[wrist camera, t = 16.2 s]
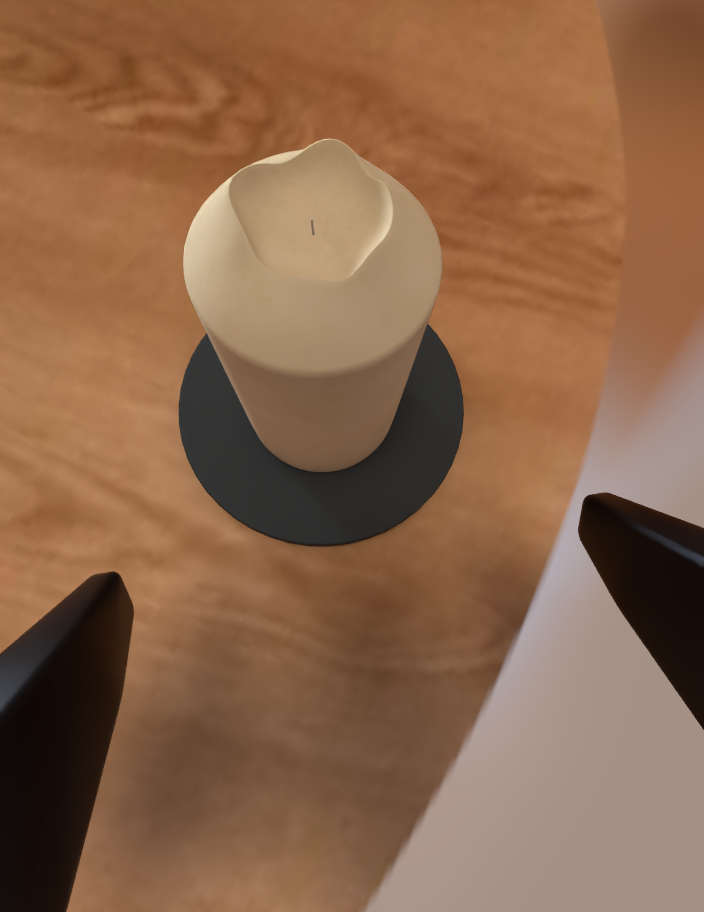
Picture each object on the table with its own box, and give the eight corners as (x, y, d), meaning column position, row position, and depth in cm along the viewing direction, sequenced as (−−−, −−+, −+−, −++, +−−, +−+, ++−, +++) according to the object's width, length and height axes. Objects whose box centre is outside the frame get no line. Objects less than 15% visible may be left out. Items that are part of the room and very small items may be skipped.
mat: (501, 355, 20) (506, 348, 19) (386, 600, 17) (388, 600, 16) (271, 248, 21) (269, 238, 20) (126, 462, 18) (119, 458, 17)
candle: (228, 448, 18) (104, 278, 8) (279, 324, 19) (227, 57, 10) (369, 494, 17) (414, 375, 8) (410, 364, 19) (490, 131, 9)
